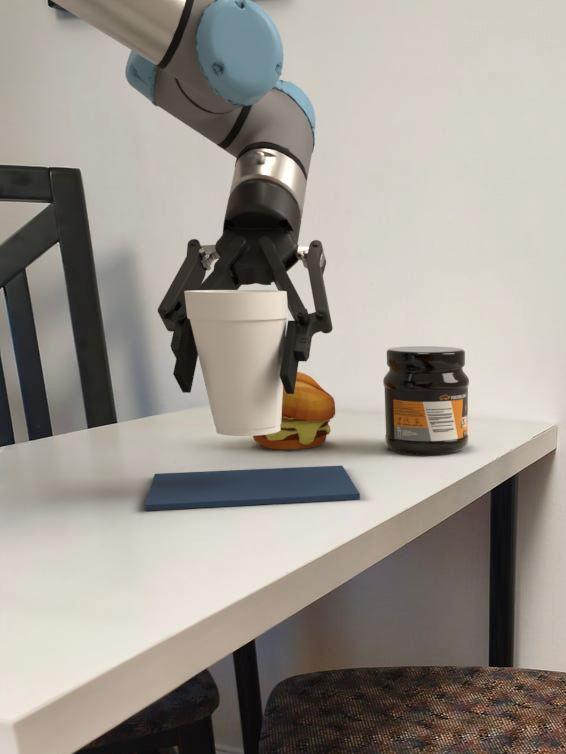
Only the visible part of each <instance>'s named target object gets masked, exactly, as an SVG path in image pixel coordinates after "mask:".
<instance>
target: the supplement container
mask: <svg viewBox="0 0 566 754" xmlns="http://www.w3.org/2000/svg"><path fill="white" fill-rule="evenodd" d="M386 366H387V367H389V369H388V371H387V373H386V374H385V375H384V376H383V379H382V383H383V384H382V385H383V386H384V414H385V416H384V417H385V418H384V419H385V435H384V436H385V438H384V439H385V444H386V445H387V446H388V447H389V449H391V450H392V451H394V452H398V453H400V454H407V455H416V456H418V455H419V456H435V455H438V456H439V455H448V454H454V453H457V452H460V451H462V450H464V449H465V448H466V446H467V445H468V442H469V433H468V432H469V414H468V413H469V385H470V379H469V377H468V375H467V374H466V373H465V371H464V369H463V368H464V367H465V366H466V351H465V350H464V349H463V348H460V347H453V346H452V347H451V346H435V345H434V346H433V345H431V346H430V345H429V346H427V345H426V346H425V345H423V346H422V345H416V346H415V345H414V346H411V345H410V346H397V347H390V348H388V349H386Z"/></svg>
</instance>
